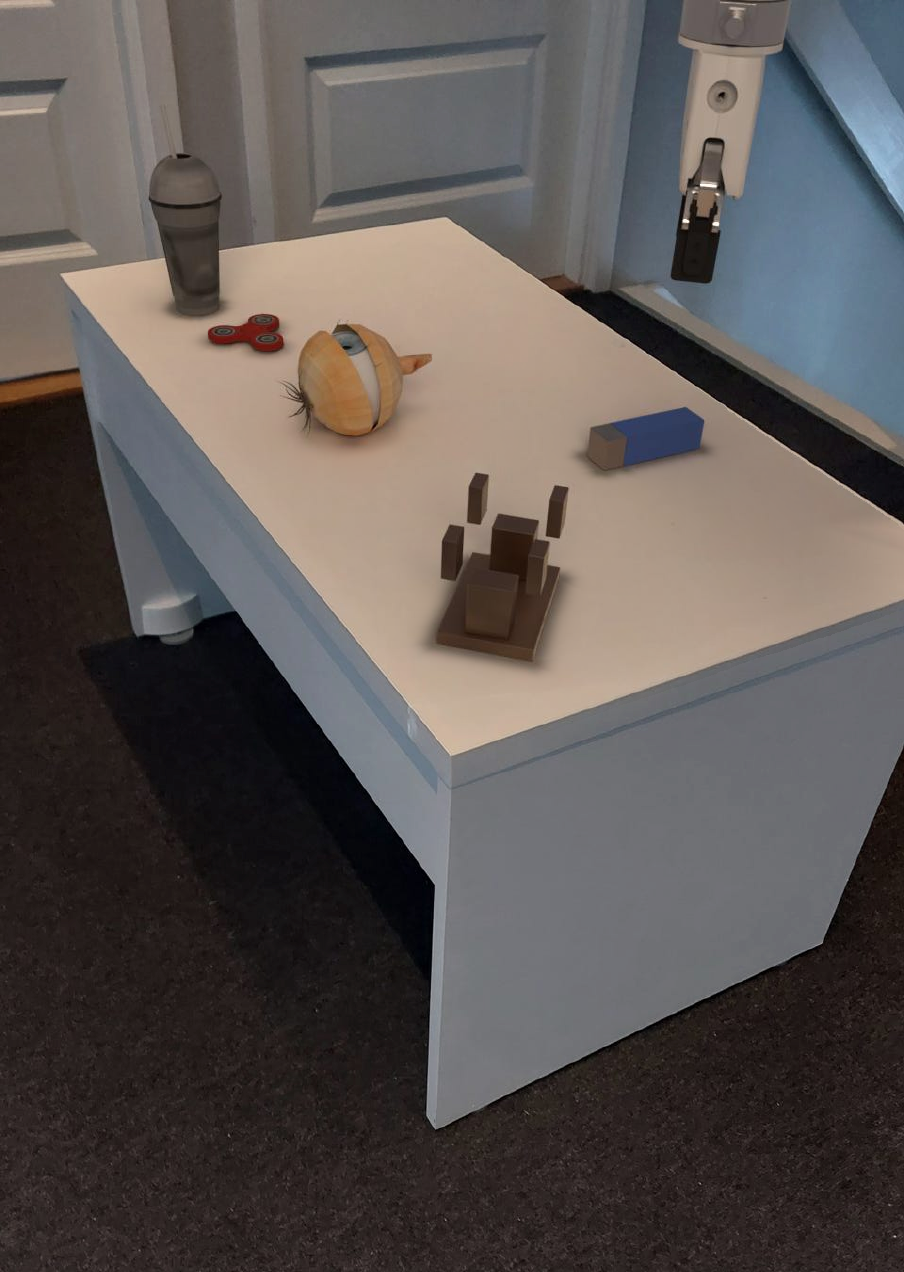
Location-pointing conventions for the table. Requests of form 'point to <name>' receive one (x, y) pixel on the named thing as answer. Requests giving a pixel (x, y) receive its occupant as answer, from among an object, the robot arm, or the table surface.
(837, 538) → the table surface
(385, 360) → the sculpture
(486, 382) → the table surface
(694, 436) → the blue eraser block
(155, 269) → the table surface
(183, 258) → the beverage cup
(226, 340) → the fidget spinner
